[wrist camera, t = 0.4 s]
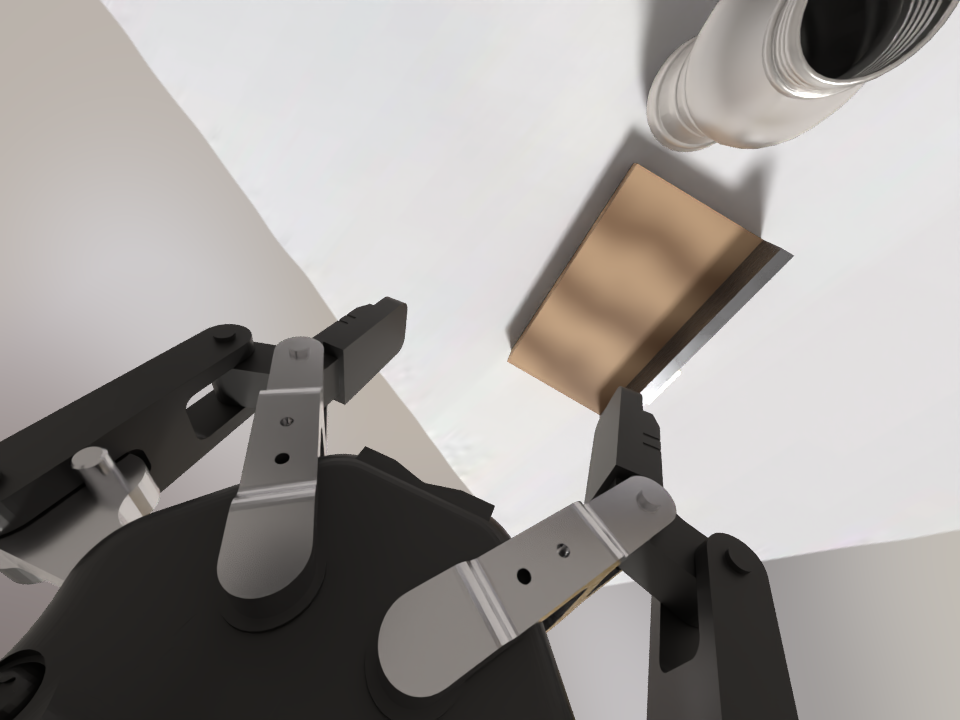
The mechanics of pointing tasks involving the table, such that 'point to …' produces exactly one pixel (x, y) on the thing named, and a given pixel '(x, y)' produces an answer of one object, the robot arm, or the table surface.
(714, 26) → the silver bottle
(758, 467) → the table surface
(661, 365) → the rail
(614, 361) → the shelf board
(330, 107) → the table surface
